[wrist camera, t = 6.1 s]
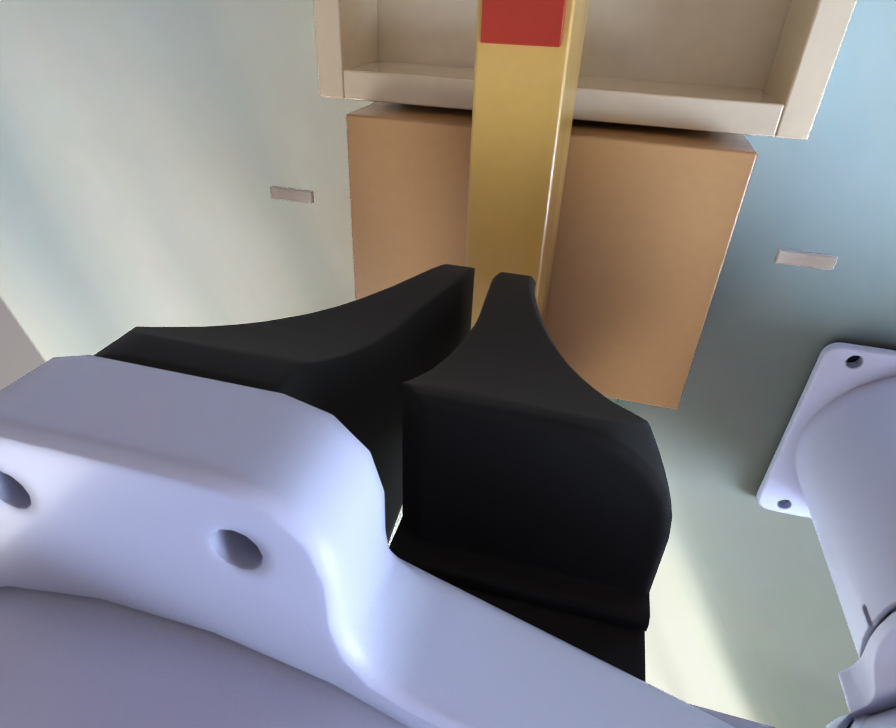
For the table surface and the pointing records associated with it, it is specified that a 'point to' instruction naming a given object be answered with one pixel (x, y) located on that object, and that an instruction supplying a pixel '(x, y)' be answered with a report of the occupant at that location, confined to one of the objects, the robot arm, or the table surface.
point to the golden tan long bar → (520, 137)
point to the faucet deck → (568, 233)
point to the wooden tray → (606, 59)
